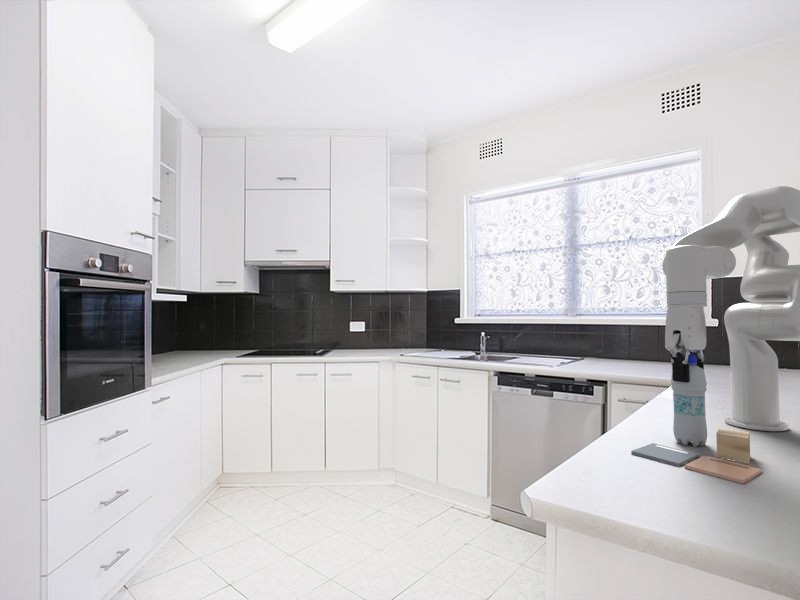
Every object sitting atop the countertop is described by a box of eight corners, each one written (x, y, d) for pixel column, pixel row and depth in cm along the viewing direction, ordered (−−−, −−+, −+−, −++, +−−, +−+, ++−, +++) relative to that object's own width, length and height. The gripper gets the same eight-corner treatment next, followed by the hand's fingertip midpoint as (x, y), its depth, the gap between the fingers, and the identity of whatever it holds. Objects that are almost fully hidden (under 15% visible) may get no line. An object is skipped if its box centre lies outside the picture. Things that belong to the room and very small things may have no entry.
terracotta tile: (705, 458, 86) (705, 455, 86) (761, 472, 78) (761, 468, 78) (684, 468, 81) (684, 464, 81) (743, 483, 73) (743, 479, 73)
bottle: (715, 449, 91) (711, 355, 92) (680, 447, 93) (677, 355, 93) (699, 439, 98) (696, 352, 98) (667, 438, 99) (664, 352, 100)
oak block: (719, 452, 90) (718, 428, 90) (750, 457, 86) (749, 432, 87) (717, 458, 86) (716, 433, 86) (749, 464, 83) (748, 438, 83)
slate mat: (652, 445, 94) (652, 442, 94) (699, 457, 86) (699, 453, 86) (631, 453, 89) (631, 450, 89) (679, 466, 81) (678, 462, 81)
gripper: (685, 301, 104) (687, 374, 104) (649, 300, 94) (651, 381, 94) (721, 300, 98) (723, 378, 97) (687, 299, 88) (690, 386, 88)
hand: (688, 379), depth 96 cm, fingers closed on bottle, 6 cm apart
